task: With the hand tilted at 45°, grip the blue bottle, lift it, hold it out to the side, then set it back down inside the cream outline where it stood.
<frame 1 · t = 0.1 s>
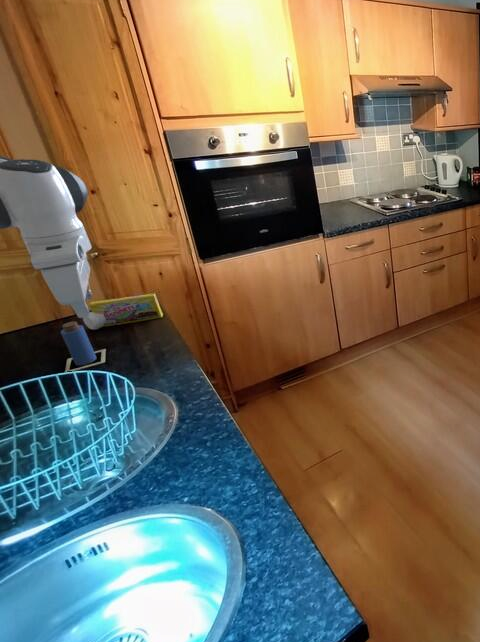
hand: (86, 306, 94), 27 cm above the worktop, tool pointing down, fingers open, 8 cm apart
blue bottle: (86, 361, 122), on the worktop
candy box: (132, 322, 142), on the worktop, touching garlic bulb
spot outline: (86, 361, 122), on the worktop
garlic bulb: (103, 326, 139), on the worktop, touching candy box
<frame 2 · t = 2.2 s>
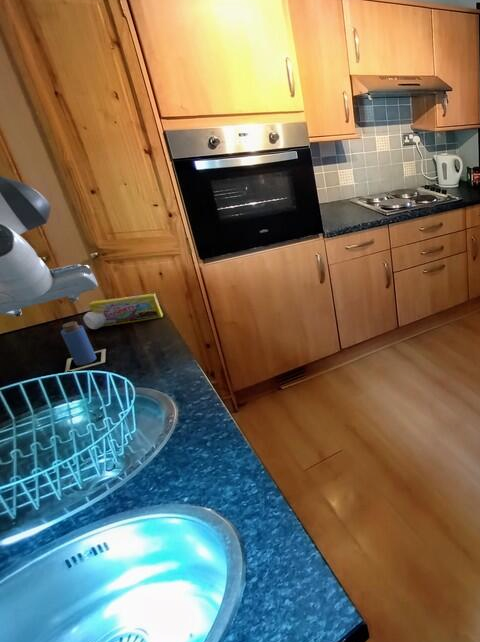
hand: (46, 305, 103), 23 cm above the worktop, tool tilted 40°, fingers open, 8 cm apart
nothing on the worktop moved.
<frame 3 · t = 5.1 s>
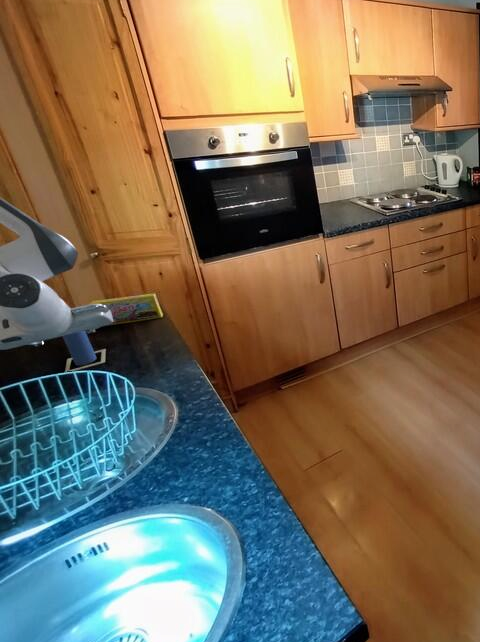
hand: (66, 336, 112), 12 cm above the worktop, tool tilted 45°, fingers open, 8 cm apart
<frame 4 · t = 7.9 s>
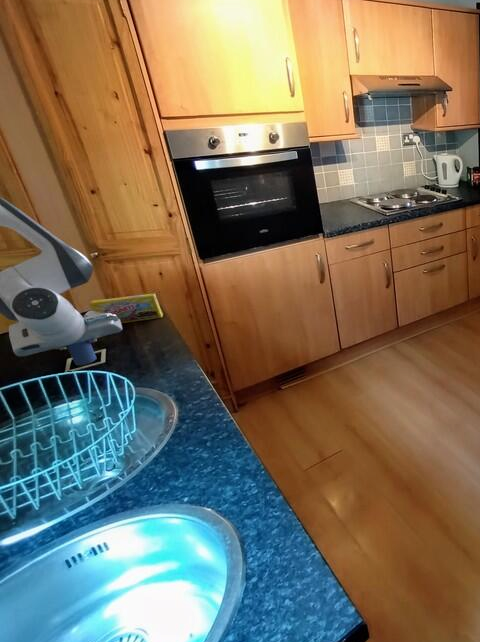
hand: (78, 343, 120), 5 cm above the worktop, tool tilted 45°, fingers closed on blue bottle, 4 cm apart
blue bottle: (86, 361, 122), on the worktop, touching gripper
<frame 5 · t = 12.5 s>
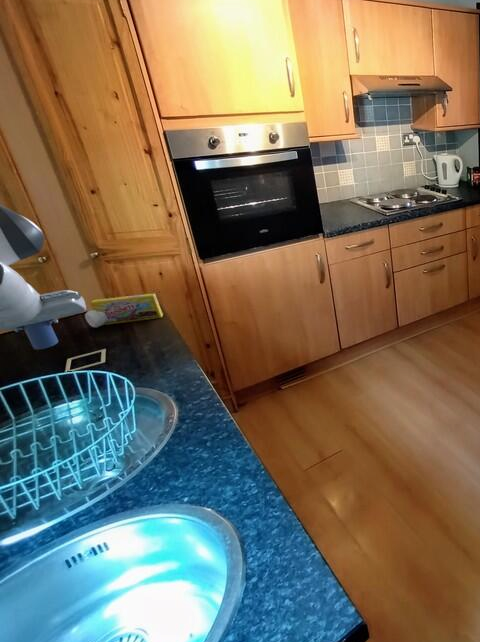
hand: (37, 324, 108), 16 cm above the worktop, tool tilted 45°, fingers closed on blue bottle, 4 cm apart
blue bottle: (46, 344, 110), point 11 cm above the worktop, touching gripper
when the fingers open (5 cm above the worktop, at t = 17.4 s): blue bottle stays where it is, on the worktop.
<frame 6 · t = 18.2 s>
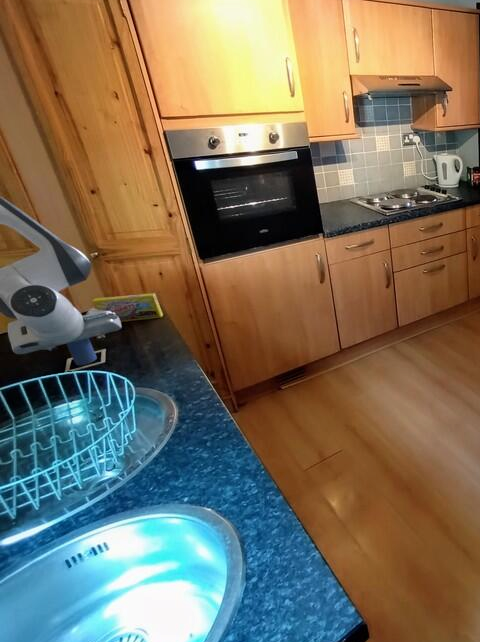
hand: (77, 341, 120), 6 cm above the worktop, tool tilted 45°, fingers open, 8 cm apart
blue bottle: (86, 360, 122), on the worktop
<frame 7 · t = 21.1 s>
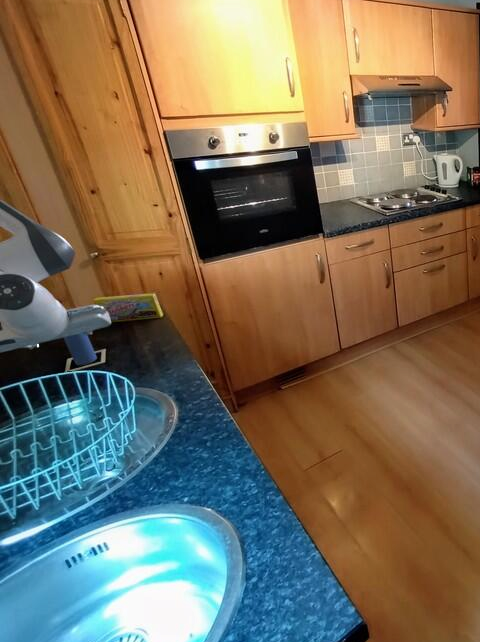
hand: (62, 338, 108), 13 cm above the worktop, tool tilted 45°, fingers open, 8 cm apart
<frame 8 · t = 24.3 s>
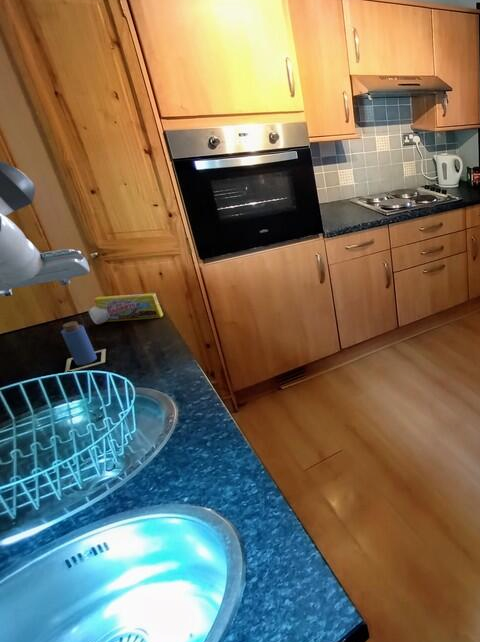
hand: (37, 287, 102), 27 cm above the worktop, tool tilted 45°, fingers open, 8 cm apart
at the end: blue bottle 0.1 cm from the target spot, on the worktop; blue bottle tilted 0°; blue bottle moved 0.1 cm from its start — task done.
